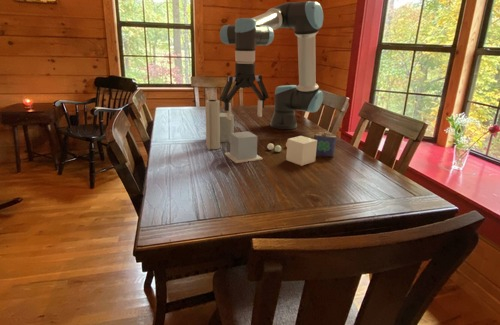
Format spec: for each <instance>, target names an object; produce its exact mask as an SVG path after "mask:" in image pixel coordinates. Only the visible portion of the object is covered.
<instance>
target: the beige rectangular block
mask: <svg viewBox="0 0 500 325" xmlns="http://www.w3.org/2000/svg"><path fill="white" fill-rule="evenodd" d="M286 142H287V147H286V156H285V158H286V159H285V161H288V162H290V163H293V164H295V165H298V166H301V167H302V166H304V165H307V164H312V163H314V162H316V157H317V156H316V149H317V140H314V138H311V137H308V136H303V135H298V136H295V137H290V138H287V141H286Z"/></svg>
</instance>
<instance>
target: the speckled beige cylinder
mask: <svg viewBox="0 0 500 325" xmlns="http://www.w3.org/2000/svg"><path fill="white" fill-rule="evenodd" d="M234 115H235V114H234V113H231V120H229V119H227V112H220V143H230V133H235V132H234V128H235V127H234V124H235V122H234V121H235V120H234V119H235V116H234Z"/></svg>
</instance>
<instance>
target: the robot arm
mask: <svg viewBox="0 0 500 325" xmlns="http://www.w3.org/2000/svg"><path fill="white" fill-rule="evenodd" d="M234 22H235V24H226V25H225V24H224V25H223V26H222V27H220V31H219V38H220V41H221V43H222V44H224V45H230V46H232V45H234V46H235V50H234V54H235V56H234V57H235V59H234V60H235V62H236V63H235V65H234V67H235V68H234V71H235V72H234V74H235V75H234V76H231V75H228V76H227V77H226V83H225V86H224V87H223V89H222V90H223V91H222V93H221V94H220V95H221V96H220V97H219V101H220V102H222V103H224V111H225V112H226V113H227V119H229V120H231V114H232V102H231V101H232V99H233V97H234V96H235V95H236V94H237V92H238V91H239V90H240V89H245V88H247V89H250V88H251V90H252V91H253V92H254V93H255V95H256V96H257V98H258V99H257V110H256V112H257V117H259V118H262V117H263V109H264V107H265V101H266V100H267V99H269V98H270V97H269V96H270V95H269V94H268V91H267V89H266V86H265V84H264V82H263V76H262V75H261V74H255V73H256V64H255V62H256V47H257V46H263V47H264V46H269V45H270V44H272V42H273V41H274V38H275V32H274V31H276V30H278V29H293V33H294V35H295V36H296V37H297V56H298V57H297V61H298V62H297V64H298V85H296V84H289V85H287V84H286V85H279V86H276V87H275V90H274V107H273V108H274V110H273V111H274V112H273V114H272V117H271V120H270V123H269V124H270V125H269V126H270V127H271V128H273V129H278V130H293V129H296V128H297V126H298V122H297V118H296V111H302V112H305V113H316V112H318V110H320V108H321V106H322V103H323V99H324V92H323V91H322V90H320V89H319V88H320V86H319V85H318V83H316V82H317V79H316V72H317V69H316V68H317V66H316V65H317V64H316V63H317V62H316V60H317V59H316V35H317V34H318V33H319V29H321V28H322V27H323V23H324V11H323V8H322V5H321V3H319V2H318V1H311V0H308V1H306V0H305V1H294V2H293V1H292V2H291V1H290V2H285V3H281V4H279V5H275V6H274V7H271V8H269V9H268V10H267V11H266V12H264V13H262V14H259V15H256V16H254V17H251V18H250V17H241V18H237V19H236V20H235V21H234ZM255 81H256V82H257V83H254V82H255ZM234 82H235V84H233V83H234ZM232 84H233V87H232ZM256 84H257V85H258V87H259V88H258V87H257V86H256ZM231 87H232V88H231ZM259 89H260V90H259Z"/></svg>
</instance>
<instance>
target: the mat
mask: <svg viewBox="0 0 500 325" xmlns="http://www.w3.org/2000/svg"><path fill="white" fill-rule="evenodd" d="M224 155H225V156H226V157H227V158H228V159H230V161H232V162H233V163H234V164H240V163H247V162H248V161H249V162H254V161H261V160H263V157H262V156H260V155H258V154H257V157H256V158H249V159H241V160H238V159H236V158H235V157H234V156H233V155H231V154H230V151H227V152H224Z"/></svg>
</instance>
